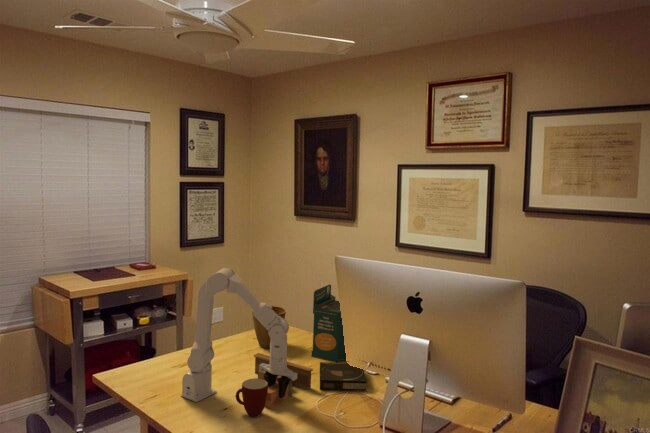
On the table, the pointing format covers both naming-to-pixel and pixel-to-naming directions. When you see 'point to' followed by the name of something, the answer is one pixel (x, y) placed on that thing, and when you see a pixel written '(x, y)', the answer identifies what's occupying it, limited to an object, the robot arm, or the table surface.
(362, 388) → the portable cd player
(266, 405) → the brown boxy piece
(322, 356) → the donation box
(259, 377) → the board
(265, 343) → the plant pot
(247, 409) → the mug
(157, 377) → the table surface
